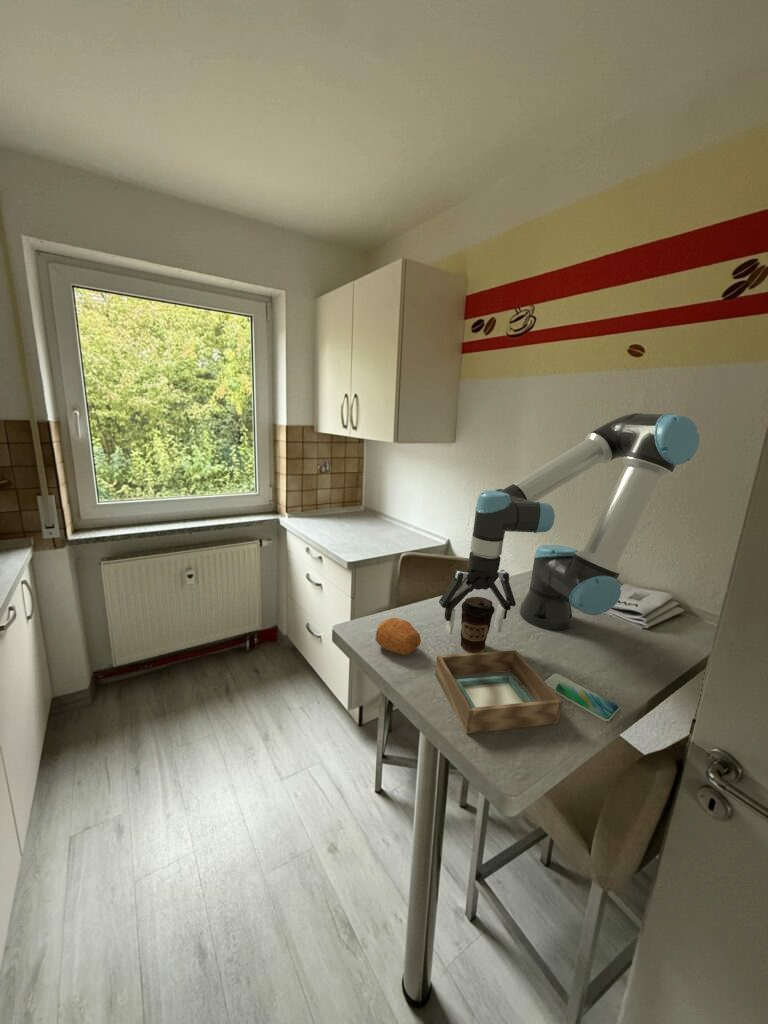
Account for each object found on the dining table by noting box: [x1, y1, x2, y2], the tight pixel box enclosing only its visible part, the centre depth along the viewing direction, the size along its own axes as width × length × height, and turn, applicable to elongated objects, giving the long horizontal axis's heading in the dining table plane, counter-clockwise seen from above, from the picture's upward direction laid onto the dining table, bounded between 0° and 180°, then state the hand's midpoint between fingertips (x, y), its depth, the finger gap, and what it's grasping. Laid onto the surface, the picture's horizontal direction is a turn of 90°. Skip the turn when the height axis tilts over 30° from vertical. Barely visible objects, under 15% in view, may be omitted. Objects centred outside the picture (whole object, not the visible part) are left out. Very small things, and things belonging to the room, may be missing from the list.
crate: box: [434, 649, 564, 735], centre depth 88 cm, size 20×18×5 cm
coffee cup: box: [460, 596, 496, 653], centre depth 105 cm, size 9×8×13 cm
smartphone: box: [542, 672, 620, 722], centre depth 91 cm, size 7×1×15 cm
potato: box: [375, 617, 422, 656], centre depth 103 cm, size 9×11×8 cm
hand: (473, 630), depth 106 cm, fingers open, 13 cm apart
